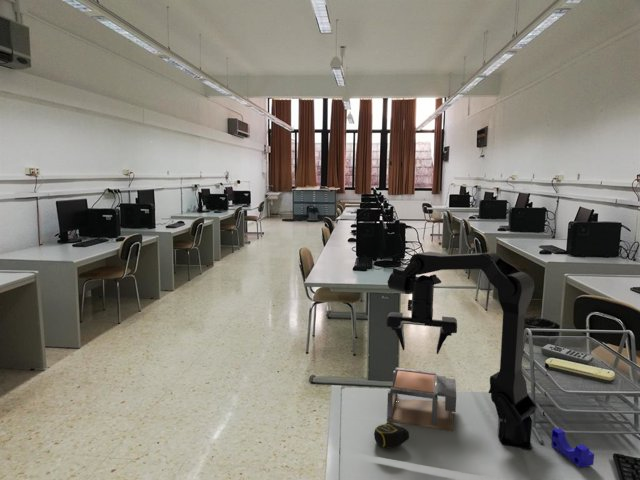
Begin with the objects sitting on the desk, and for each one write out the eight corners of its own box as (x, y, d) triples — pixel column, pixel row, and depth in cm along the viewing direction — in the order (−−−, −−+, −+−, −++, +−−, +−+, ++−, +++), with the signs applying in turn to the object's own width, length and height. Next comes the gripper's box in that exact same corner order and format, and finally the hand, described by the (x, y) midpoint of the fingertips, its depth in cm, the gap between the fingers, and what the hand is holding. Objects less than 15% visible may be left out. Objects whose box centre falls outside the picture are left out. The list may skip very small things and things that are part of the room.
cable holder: (593, 464, 93) (594, 447, 92) (580, 467, 92) (581, 450, 91) (563, 443, 100) (565, 427, 100) (551, 445, 99) (552, 429, 99)
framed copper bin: (451, 403, 117) (453, 374, 116) (452, 431, 104) (454, 398, 103) (393, 395, 122) (393, 366, 121) (386, 420, 109) (387, 388, 108)
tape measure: (412, 443, 97) (409, 427, 97) (388, 454, 94) (385, 437, 94) (393, 434, 103) (390, 419, 103) (370, 444, 100) (367, 428, 100)
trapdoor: (454, 393, 115) (455, 377, 114) (455, 412, 106) (456, 394, 105) (397, 385, 119) (397, 369, 119) (393, 403, 110) (393, 386, 109)
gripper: (457, 293, 123) (454, 345, 125) (391, 288, 128) (390, 338, 130) (458, 303, 113) (455, 360, 115) (387, 297, 118) (385, 351, 120)
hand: (420, 351), depth 120 cm, fingers open, 9 cm apart
